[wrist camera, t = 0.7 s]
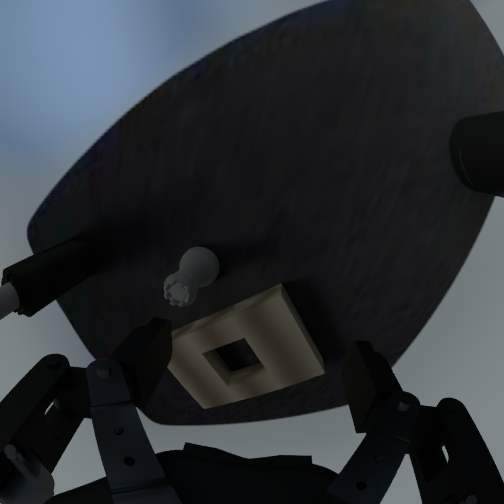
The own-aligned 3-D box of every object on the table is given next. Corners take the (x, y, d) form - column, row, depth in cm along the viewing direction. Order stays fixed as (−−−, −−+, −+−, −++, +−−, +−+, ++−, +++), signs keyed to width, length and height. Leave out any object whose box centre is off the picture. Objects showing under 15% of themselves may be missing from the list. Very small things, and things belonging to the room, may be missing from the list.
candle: (92, 242, 32) (-64, 330, 9) (94, 277, 34) (-41, 380, 10) (66, 237, 33) (-77, 310, 9) (69, 270, 34) (-59, 356, 11)
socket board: (281, 283, 31) (280, 294, 28) (322, 358, 33) (324, 373, 30) (160, 335, 35) (152, 348, 32) (208, 395, 38) (203, 408, 35)
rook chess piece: (223, 281, 32) (204, 316, 24) (186, 283, 32) (159, 316, 25) (217, 244, 30) (195, 269, 23) (180, 246, 31) (149, 271, 23)
